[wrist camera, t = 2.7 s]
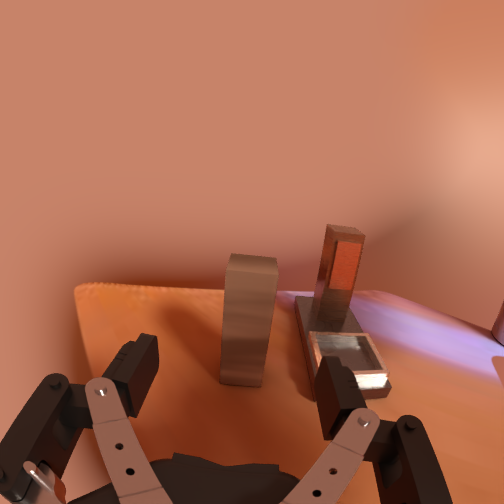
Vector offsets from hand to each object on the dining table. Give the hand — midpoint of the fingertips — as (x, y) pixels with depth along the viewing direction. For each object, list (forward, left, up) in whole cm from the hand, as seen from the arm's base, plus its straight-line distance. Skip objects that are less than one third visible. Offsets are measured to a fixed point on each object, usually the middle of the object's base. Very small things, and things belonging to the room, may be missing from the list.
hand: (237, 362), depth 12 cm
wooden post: (+4, -11, -11) cm, 16 cm away
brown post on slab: (-5, -20, -11) cm, 24 cm away
